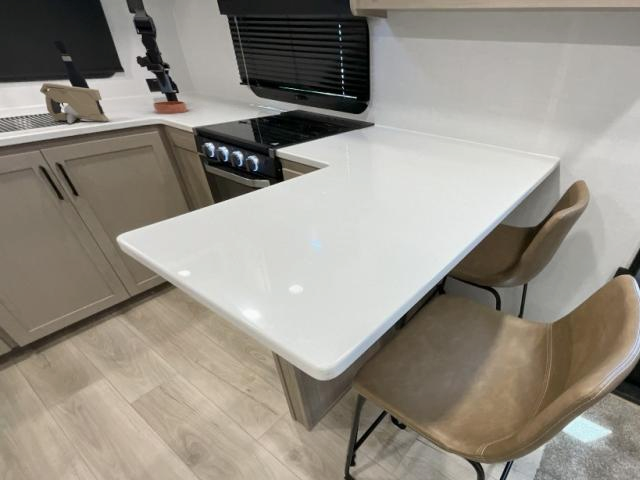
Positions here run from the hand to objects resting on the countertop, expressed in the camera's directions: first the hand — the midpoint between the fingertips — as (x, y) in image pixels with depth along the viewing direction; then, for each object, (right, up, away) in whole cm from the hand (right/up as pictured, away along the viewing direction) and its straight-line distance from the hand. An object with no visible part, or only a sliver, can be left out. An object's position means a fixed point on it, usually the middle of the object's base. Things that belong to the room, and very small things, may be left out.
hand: (165, 86), depth 174 cm
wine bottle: (-37, -16, -2) cm, 40 cm away
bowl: (-1, -9, +7) cm, 12 cm away
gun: (-26, -29, -19) cm, 43 cm away
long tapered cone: (-30, -28, -18) cm, 45 cm away
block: (0, -2, +2) cm, 2 cm away
